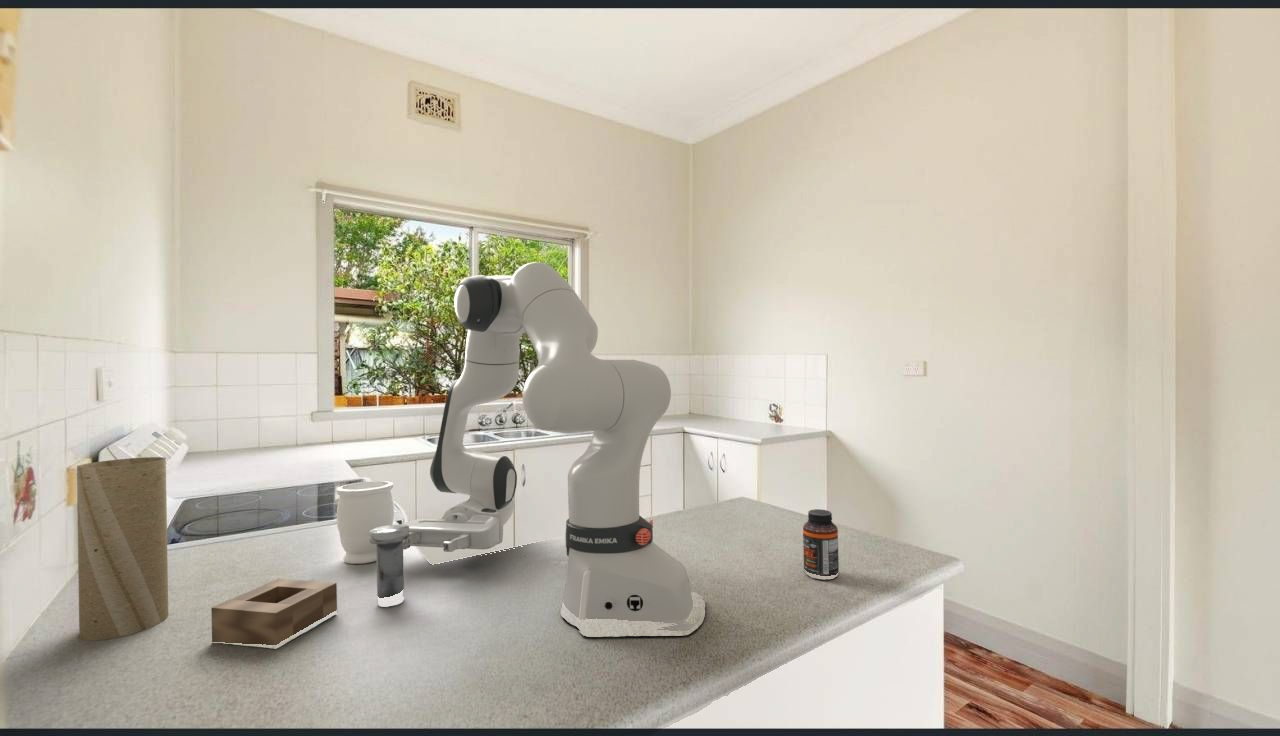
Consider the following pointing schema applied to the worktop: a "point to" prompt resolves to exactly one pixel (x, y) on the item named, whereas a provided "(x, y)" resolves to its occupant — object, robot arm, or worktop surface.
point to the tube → (122, 546)
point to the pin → (389, 558)
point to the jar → (363, 517)
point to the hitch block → (273, 611)
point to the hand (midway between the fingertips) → (423, 546)
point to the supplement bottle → (820, 544)
